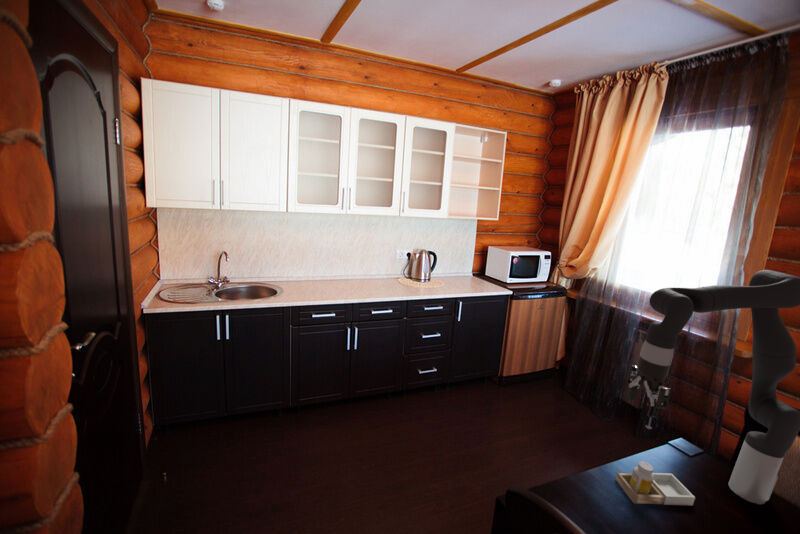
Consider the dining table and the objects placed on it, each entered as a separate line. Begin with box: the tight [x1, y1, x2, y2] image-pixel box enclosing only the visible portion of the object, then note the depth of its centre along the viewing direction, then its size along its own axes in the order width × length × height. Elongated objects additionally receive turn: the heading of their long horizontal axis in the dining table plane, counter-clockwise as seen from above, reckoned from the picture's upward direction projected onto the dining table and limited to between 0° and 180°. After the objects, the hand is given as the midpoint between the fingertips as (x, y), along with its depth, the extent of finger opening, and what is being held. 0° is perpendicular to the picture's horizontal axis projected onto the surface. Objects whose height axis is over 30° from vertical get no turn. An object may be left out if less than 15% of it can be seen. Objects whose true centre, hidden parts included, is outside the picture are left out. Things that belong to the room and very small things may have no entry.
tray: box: [652, 472, 696, 506], centre depth 119 cm, size 9×9×3 cm
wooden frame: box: [615, 472, 664, 505], centre depth 118 cm, size 9×9×2 cm
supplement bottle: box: [628, 460, 654, 495], centre depth 117 cm, size 5×5×10 cm
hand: (640, 407), depth 112 cm, fingers open, 8 cm apart
